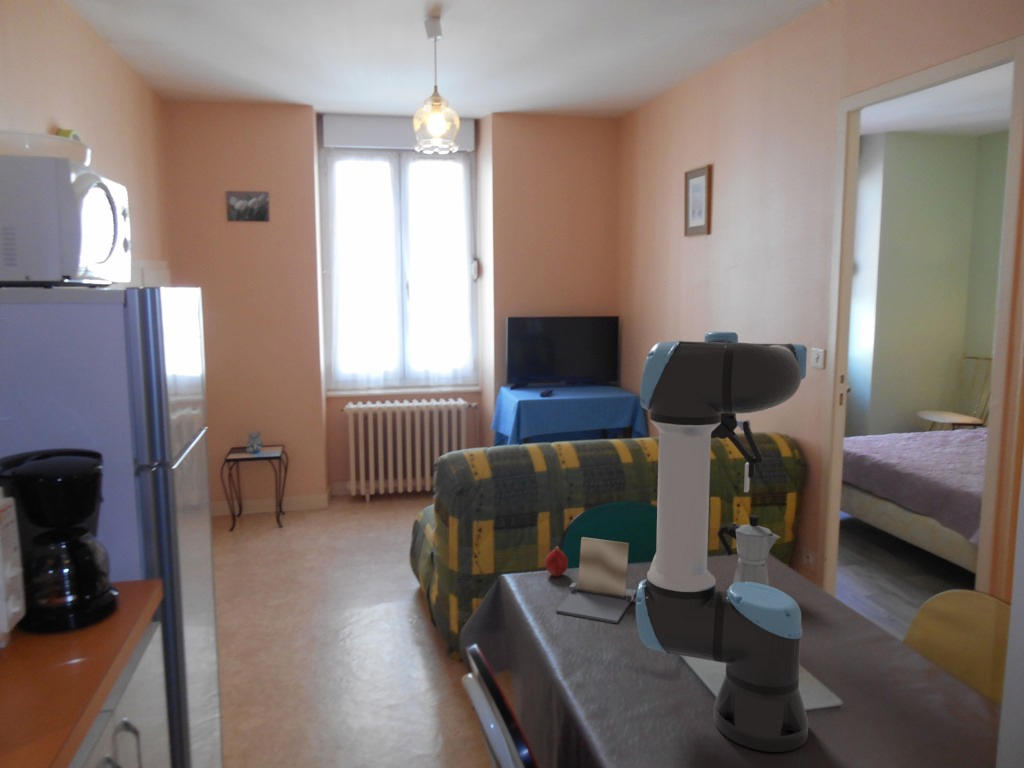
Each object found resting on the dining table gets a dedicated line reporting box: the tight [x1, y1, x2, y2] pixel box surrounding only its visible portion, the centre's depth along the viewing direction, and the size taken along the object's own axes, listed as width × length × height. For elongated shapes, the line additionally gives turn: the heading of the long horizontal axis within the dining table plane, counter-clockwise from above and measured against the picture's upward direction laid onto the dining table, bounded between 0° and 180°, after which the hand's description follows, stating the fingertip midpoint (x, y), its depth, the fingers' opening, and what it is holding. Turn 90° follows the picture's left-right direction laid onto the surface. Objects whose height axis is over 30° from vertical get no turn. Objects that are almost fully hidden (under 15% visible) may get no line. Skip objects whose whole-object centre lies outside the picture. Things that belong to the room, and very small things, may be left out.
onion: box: [544, 546, 569, 578], centre depth 181 cm, size 6×6×8 cm
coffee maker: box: [716, 514, 781, 586], centre depth 175 cm, size 15×9×18 cm, turn 58°
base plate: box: [555, 584, 637, 624], centre depth 166 cm, size 18×14×1 cm
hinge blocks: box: [568, 582, 635, 603], centre depth 169 cm, size 2×15×1 cm, turn 67°
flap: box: [577, 536, 630, 599], centre depth 169 cm, size 13×12×1 cm
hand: (716, 487), depth 169 cm, fingers open, 13 cm apart
